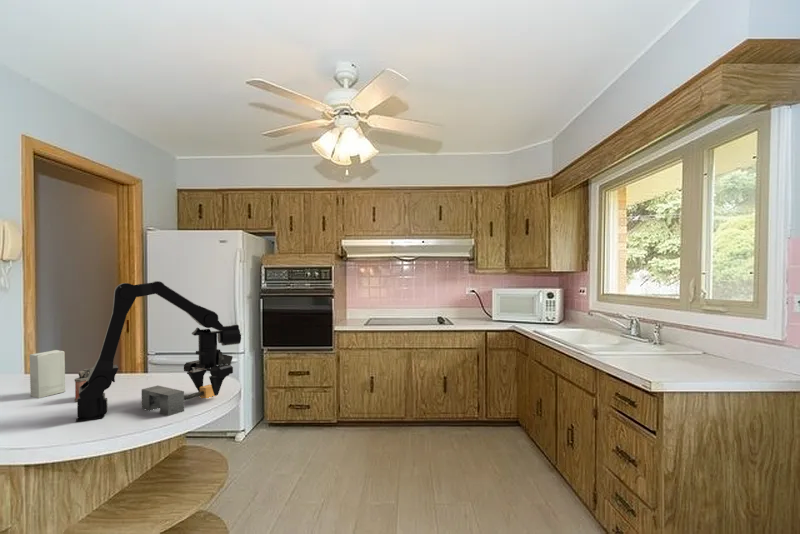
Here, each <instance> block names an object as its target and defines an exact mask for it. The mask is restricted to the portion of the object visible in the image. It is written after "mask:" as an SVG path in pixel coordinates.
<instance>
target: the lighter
mask: <svg viewBox="0 0 800 534" xmlns="http://www.w3.org/2000/svg"><path fill="white" fill-rule="evenodd" d="M92 368H93V367H91V368H84V369H82V370H80V371H78V377H76V378H74V384H75V388H74V389H75V391H74V392H75V393H74V397H75V398H74V403H77V399H78V397H79V388H80V387H81V386H82V385H83V384H84V383H85V382H86V381H87V380H88V376H89V374H90V372H91V370H92Z"/></svg>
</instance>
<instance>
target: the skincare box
mask: <svg viewBox="0 0 800 534" xmlns="http://www.w3.org/2000/svg"><path fill="white" fill-rule="evenodd" d="M65 355H66V354H65V351H63V350H58V349H53V350H49V351H43V352H36V353H31V354H29V382H30V383H29V384H30V385H29V386H30V387H29V388H30V396H31V397H33V398H37V399H42V398H46V397H49V396H53V395H56V394H57V395H58V394H62V393H65V392H66V369H65V368H66V361H65V360H66V359H65Z"/></svg>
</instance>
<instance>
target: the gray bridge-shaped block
mask: <svg viewBox="0 0 800 534" xmlns="http://www.w3.org/2000/svg"><path fill="white" fill-rule="evenodd" d="M184 396H185V391H184V390H180V389H177V388H171V387H166V386H162V385H154V386H149V387H145V388H141V410H144V409H146V410H145V411H148V410H149V411H148V412H150V410H151V411H153V409H154V410H156V409H157V408H158V409H159V414H160V415H163V416H167V417H170V416H173V415H176V414H179V413H182V412H185V400H184ZM158 409H157V410H158Z"/></svg>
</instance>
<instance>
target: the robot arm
mask: <svg viewBox="0 0 800 534" xmlns="http://www.w3.org/2000/svg"><path fill="white" fill-rule="evenodd" d="M151 295H157V296H158V297H160V298H162V299H164V300H166V301H167V302H168V303H170V304H171V305H174V306H175V307H176V308H178V309H180V310H182V311H183V312H184V313H186V314H187V315H188V316H190V318H191V319H192V320H193V321H195V323H197V324H198V325H200V326H202V327H203V329H200V327H196V328H195V330H193V331H192V332H191V335H192V336H194V337H195V336H198V350H195V355H198V359H197V360H191V361H187V362H185V364H184V365H183V372H186V374H187V375H188V376H189V378H190V380H191V381H192V383H193V384H194V386H195V388H196V390H197V391H198V392H200V387H202V386H204V377H205V374H206V373H207V372H209V374H210V376H208V378H209V382H210V385H211V386H212V389H213V393H214V395H215V397H216V396H219V393H220V390H221V387H222V386H223V385H222V384H223V381H224V379H226V378H227V377H228V376H229V375H230V374H231V375H232V374H234V367H233V366H232V365H231V364H232V361H233V357H234V356H233V355H229V354H224V353H223V352H222V350H221V349H218V344H220V345H221V346H223V347H224V346H232V345H240V344H241V341H242V334H241V330H240V325H239V324H232V325H223V324H222V322H221V321H219V315H218V313H217V312H215V311H213V310H211V309H209V308H206V307H203V306H201V305H199V304H196V303H195V302H193V301H191V300H189V299H188V298H186V297H185V296H183V295H181V294H180V293H178V292H176V291H175V290H174V289H172V288H170V287H169V286H167V285H165V283H164V282H162V281H157V280H155V281H152V282H147V283H139V284H133V283H132V284H131V283H129V282H124V283H123V282H122V283H120V284H118V285H117V286H115V288H114V290H113V299H112V311H111V312H112V313H111V316H110V319H109V322H108V325H107V330H106V331H105V336H104V339H103V341H102V346H101V349H100V352H99V356H98V357H97V359H96V361H95V363H94V365H93V366H92V367H91V368H92V370H91V372H90V374H89V376H88V380H87V381H86V382H85V383H84V384H83V385H82V386H81V387H80V388H79V397H78V399H77V402H76V403H77V405H76V406H77V408H76V409H77V410H76V411H77V412H76V413H77V414H76V415H77V418H76V420H75V422H77V423H78V422H85V421H92V420H97V419H98V420H99V419H103V418H105V416H106V415H107V414H108V397H106V393H105V391H106V390H108V389H109V388H110V387H111V385H112V383H115V382H116V375H117V372H118V370H119V367H118V364H114V359H115V357H116V352H117V349H118V346H119V343H120V339H121V335H122V332H123V329H124V325H125V322H126V319H127V315H128V314H129V311H130V310H131V308H132V307H133V304H134V302H135V301H136V299H137V298H141V297H147V296H151ZM204 328H205V329H204ZM210 328H211V329H215V330H211V329H210Z"/></svg>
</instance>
